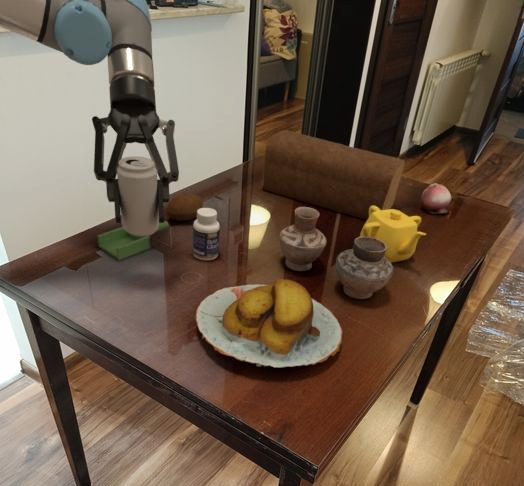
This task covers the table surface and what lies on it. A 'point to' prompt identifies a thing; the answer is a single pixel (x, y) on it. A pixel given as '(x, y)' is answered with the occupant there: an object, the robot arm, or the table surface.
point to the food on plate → (269, 324)
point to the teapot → (393, 232)
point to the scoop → (125, 242)
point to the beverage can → (138, 195)
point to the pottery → (347, 262)
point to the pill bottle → (206, 234)
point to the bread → (330, 174)
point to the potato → (184, 207)
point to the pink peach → (435, 199)
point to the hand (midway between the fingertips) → (140, 220)
